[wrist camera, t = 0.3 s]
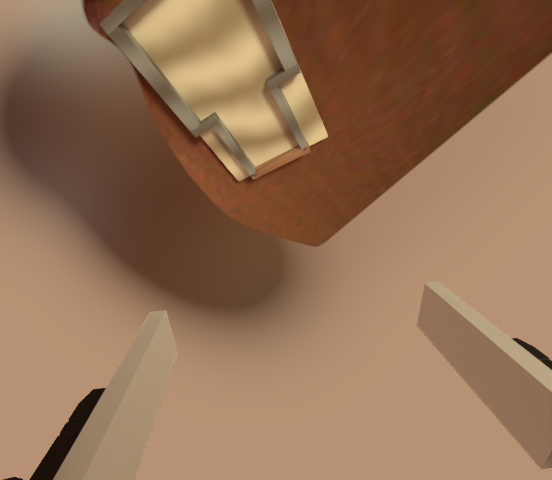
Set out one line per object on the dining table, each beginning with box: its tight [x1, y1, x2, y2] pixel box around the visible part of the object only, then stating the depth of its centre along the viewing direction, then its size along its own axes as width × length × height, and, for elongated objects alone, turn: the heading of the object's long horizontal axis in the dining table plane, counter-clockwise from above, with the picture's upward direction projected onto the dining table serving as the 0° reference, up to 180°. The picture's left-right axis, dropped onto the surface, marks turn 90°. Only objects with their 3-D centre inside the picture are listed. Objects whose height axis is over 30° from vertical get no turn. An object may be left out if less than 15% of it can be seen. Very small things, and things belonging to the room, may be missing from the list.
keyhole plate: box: [99, 0, 328, 182], centre depth 32 cm, size 24×16×2 cm, turn 29°
